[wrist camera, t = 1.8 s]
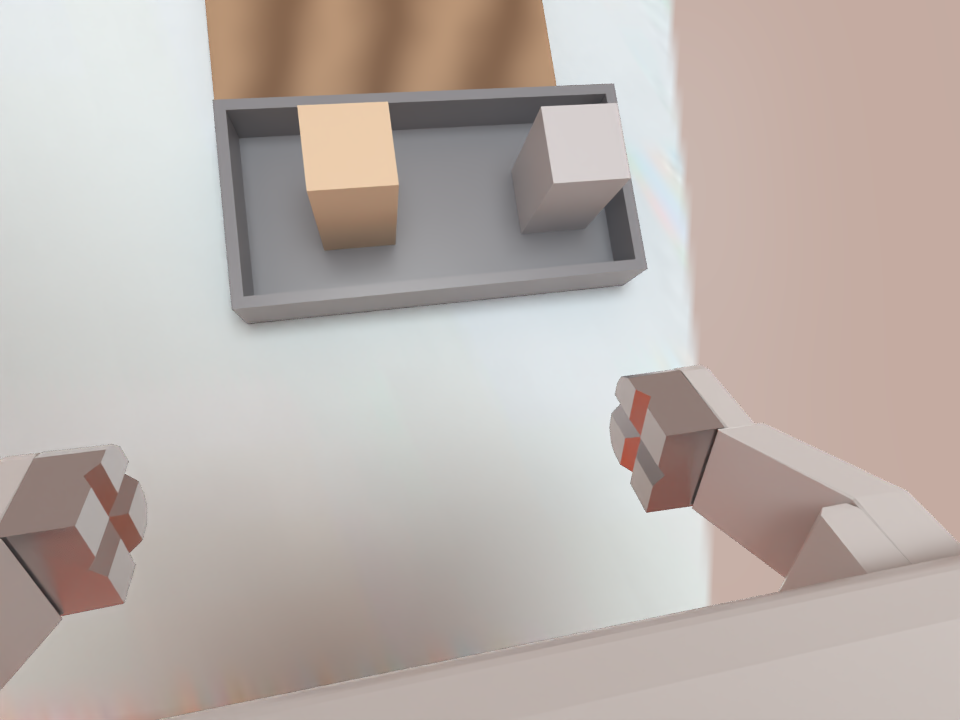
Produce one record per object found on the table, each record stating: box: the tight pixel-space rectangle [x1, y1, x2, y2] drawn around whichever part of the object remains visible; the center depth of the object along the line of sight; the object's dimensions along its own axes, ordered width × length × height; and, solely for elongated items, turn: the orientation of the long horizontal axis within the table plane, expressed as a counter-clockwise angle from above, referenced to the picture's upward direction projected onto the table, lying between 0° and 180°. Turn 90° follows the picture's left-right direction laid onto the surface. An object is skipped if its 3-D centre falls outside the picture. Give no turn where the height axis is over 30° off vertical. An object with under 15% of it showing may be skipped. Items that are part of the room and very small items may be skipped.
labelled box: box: [297, 102, 399, 251], centre depth 31 cm, size 4×4×8 cm
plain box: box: [511, 103, 631, 234], centre depth 33 cm, size 4×4×7 cm
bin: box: [213, 84, 647, 324], centre depth 34 cm, size 22×11×4 cm, turn 98°
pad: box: [205, 0, 556, 100], centre depth 37 cm, size 20×12×1 cm, turn 98°
